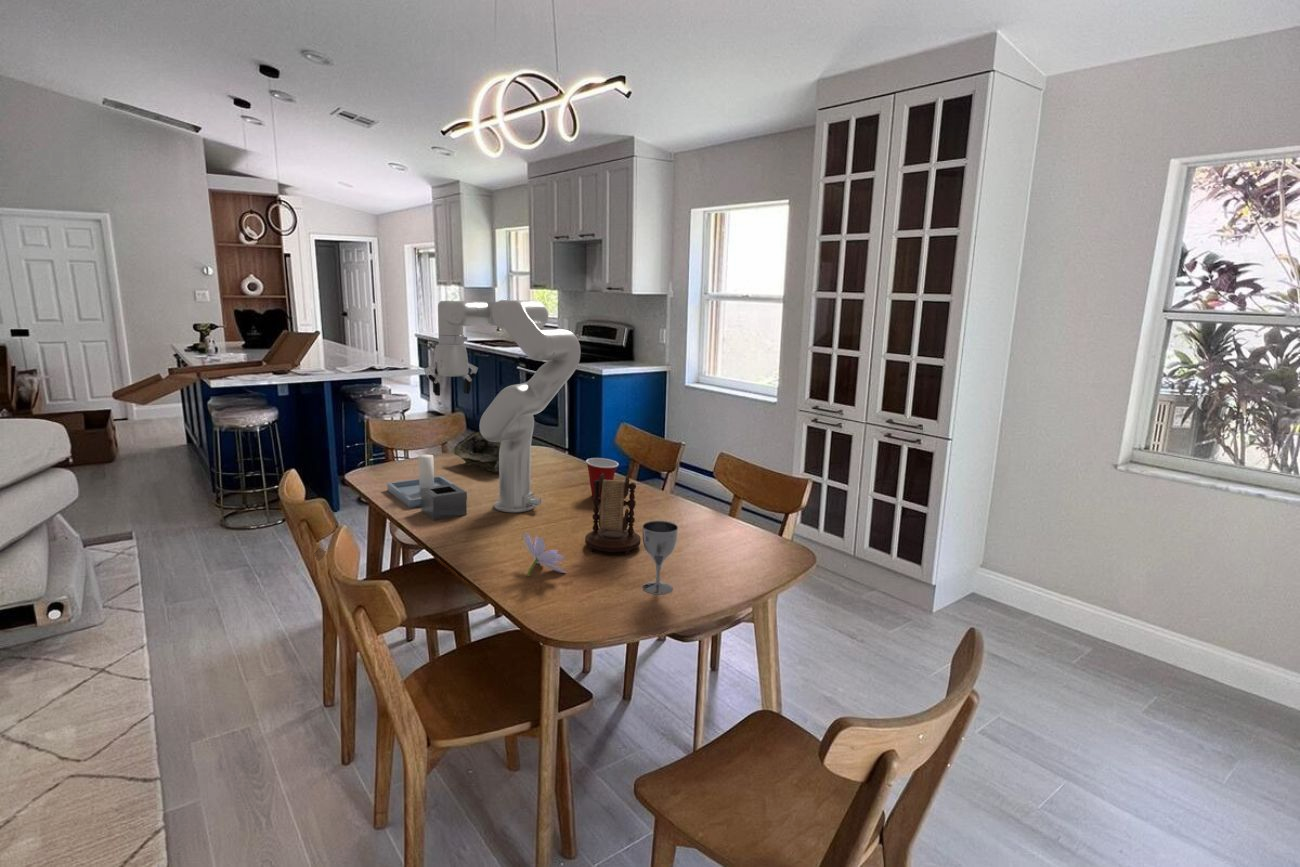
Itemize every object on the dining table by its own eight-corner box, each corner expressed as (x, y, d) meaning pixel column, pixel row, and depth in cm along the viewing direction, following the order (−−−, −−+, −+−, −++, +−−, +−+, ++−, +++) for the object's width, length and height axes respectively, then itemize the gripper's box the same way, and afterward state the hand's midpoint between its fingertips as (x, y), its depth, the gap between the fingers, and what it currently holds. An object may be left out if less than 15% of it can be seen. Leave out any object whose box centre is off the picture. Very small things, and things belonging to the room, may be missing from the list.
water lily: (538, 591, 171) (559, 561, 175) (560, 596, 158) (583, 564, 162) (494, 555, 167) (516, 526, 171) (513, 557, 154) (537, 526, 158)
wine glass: (673, 580, 164) (676, 521, 161) (675, 595, 156) (679, 532, 153) (640, 580, 164) (642, 520, 161) (640, 594, 156) (643, 531, 153)
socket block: (466, 514, 205) (466, 492, 204) (433, 520, 199) (433, 497, 198) (453, 505, 213) (453, 483, 211) (421, 510, 207) (420, 488, 205)
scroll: (579, 554, 178) (580, 479, 174) (591, 535, 192) (593, 465, 188) (635, 559, 176) (638, 484, 172) (644, 539, 191) (646, 469, 186)
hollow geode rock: (508, 489, 248) (533, 456, 253) (485, 469, 240) (511, 436, 244) (469, 470, 268) (492, 440, 272) (446, 451, 259) (471, 420, 264)
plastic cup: (616, 501, 223) (617, 465, 221) (583, 500, 223) (584, 464, 221) (618, 492, 234) (619, 457, 231) (587, 490, 234) (587, 456, 231)
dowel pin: (436, 493, 222) (435, 456, 219) (422, 495, 219) (421, 458, 217) (431, 489, 225) (430, 454, 223) (417, 491, 223) (416, 455, 220)
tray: (466, 499, 219) (466, 491, 219) (410, 508, 209) (410, 500, 208) (441, 482, 236) (440, 475, 236) (387, 490, 226) (387, 482, 225)
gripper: (472, 339, 225) (472, 391, 229) (419, 340, 215) (421, 394, 219) (481, 341, 220) (482, 394, 223) (428, 342, 209) (429, 397, 213)
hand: (452, 394), depth 221 cm, fingers open, 9 cm apart
